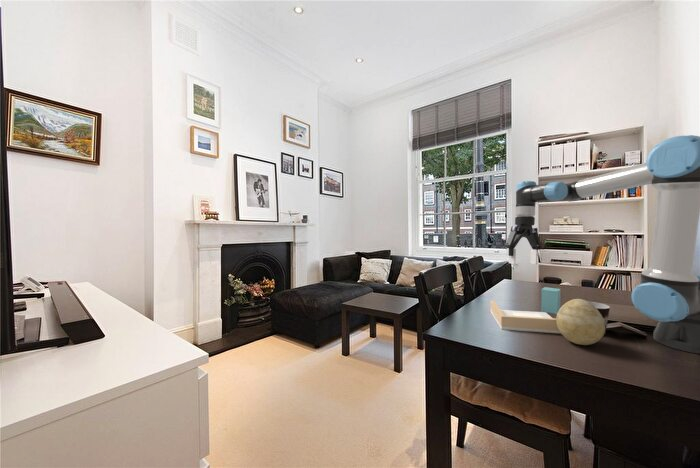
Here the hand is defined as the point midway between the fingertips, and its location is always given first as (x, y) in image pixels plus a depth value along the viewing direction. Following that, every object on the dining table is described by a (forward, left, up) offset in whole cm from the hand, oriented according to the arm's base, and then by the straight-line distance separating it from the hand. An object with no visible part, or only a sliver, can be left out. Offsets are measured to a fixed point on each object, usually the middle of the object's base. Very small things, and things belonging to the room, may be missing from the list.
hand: (523, 263), depth 127 cm
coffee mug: (-20, -16, -22) cm, 34 cm away
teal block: (+4, -12, -22) cm, 25 cm away
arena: (-13, +3, -22) cm, 26 cm away
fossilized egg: (-32, -8, -22) cm, 40 cm away
